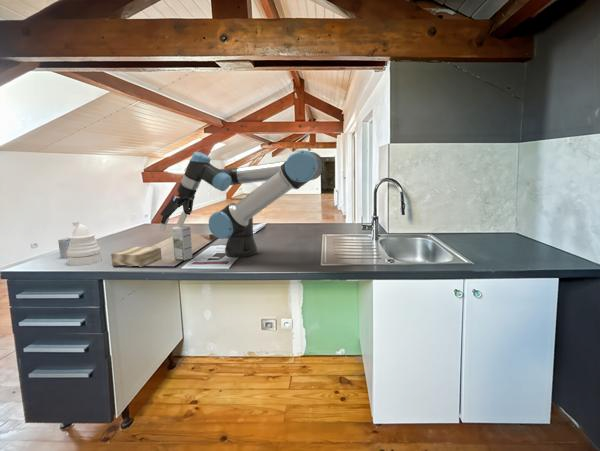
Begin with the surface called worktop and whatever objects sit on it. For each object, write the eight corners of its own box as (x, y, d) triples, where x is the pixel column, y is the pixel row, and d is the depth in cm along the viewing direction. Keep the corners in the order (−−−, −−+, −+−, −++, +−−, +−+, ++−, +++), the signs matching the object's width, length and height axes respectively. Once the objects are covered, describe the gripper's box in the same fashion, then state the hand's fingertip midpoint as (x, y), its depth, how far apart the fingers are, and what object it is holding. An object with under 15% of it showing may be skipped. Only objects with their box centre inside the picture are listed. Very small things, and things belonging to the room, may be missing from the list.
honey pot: (66, 267, 150) (61, 224, 147) (69, 260, 161) (64, 220, 158) (101, 262, 155) (96, 222, 152) (102, 256, 167) (97, 218, 164)
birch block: (161, 258, 161) (160, 247, 160) (140, 267, 148) (139, 255, 147) (135, 257, 164) (134, 246, 164) (112, 265, 151) (111, 253, 150)
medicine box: (68, 258, 164) (66, 239, 163) (60, 258, 165) (57, 239, 164) (81, 254, 172) (79, 236, 170) (73, 253, 173) (71, 236, 171)
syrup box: (193, 257, 162) (191, 226, 160) (183, 260, 157) (181, 228, 154) (183, 256, 164) (181, 225, 162) (174, 259, 159) (171, 227, 157)
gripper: (197, 181, 168) (180, 219, 173) (164, 182, 144) (145, 227, 149) (210, 189, 167) (192, 227, 172) (178, 192, 143) (159, 236, 148)
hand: (170, 227), depth 161 cm, fingers open, 13 cm apart
